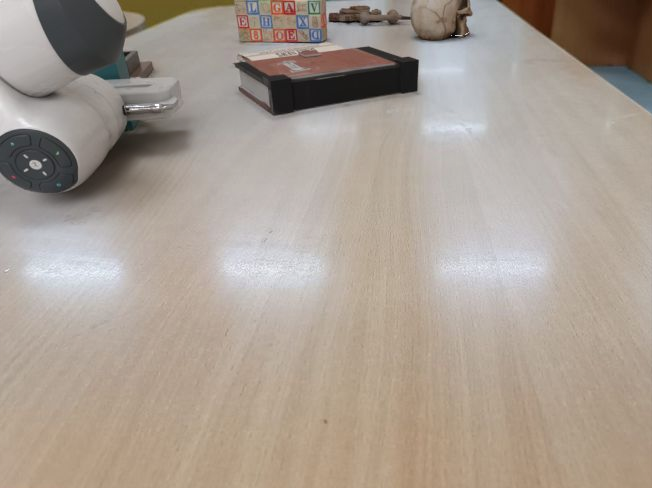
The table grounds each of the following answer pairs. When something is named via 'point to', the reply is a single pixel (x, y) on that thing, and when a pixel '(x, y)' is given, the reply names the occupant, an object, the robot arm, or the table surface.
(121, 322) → the table surface
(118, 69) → the teal rectangular block
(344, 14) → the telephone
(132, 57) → the lower pad
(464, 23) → the skull
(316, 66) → the book
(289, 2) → the stack of blocks
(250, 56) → the newspaper
